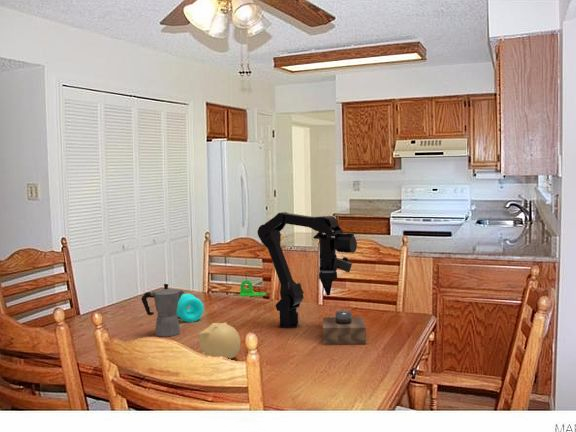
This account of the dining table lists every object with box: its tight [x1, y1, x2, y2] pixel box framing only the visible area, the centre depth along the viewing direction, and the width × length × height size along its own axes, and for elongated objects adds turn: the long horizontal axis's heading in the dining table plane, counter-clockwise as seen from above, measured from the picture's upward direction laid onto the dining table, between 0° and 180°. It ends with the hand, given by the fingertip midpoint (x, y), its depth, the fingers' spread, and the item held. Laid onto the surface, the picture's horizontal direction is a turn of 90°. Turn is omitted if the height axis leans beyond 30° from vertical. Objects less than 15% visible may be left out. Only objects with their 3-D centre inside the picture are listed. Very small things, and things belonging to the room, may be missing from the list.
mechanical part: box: [238, 279, 267, 297], centre depth 259 cm, size 12×6×8 cm, turn 83°
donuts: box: [176, 293, 205, 323], centre depth 217 cm, size 10×10×10 cm
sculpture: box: [198, 322, 241, 360], centre depth 169 cm, size 12×12×11 cm
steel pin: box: [334, 309, 353, 324], centre depth 187 cm, size 5×5×8 cm
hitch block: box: [322, 316, 367, 345], centre depth 187 cm, size 14×14×6 cm
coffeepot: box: [141, 283, 185, 338], centre depth 198 cm, size 15×9×18 cm, turn 116°
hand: (328, 295), depth 196 cm, fingers closed
